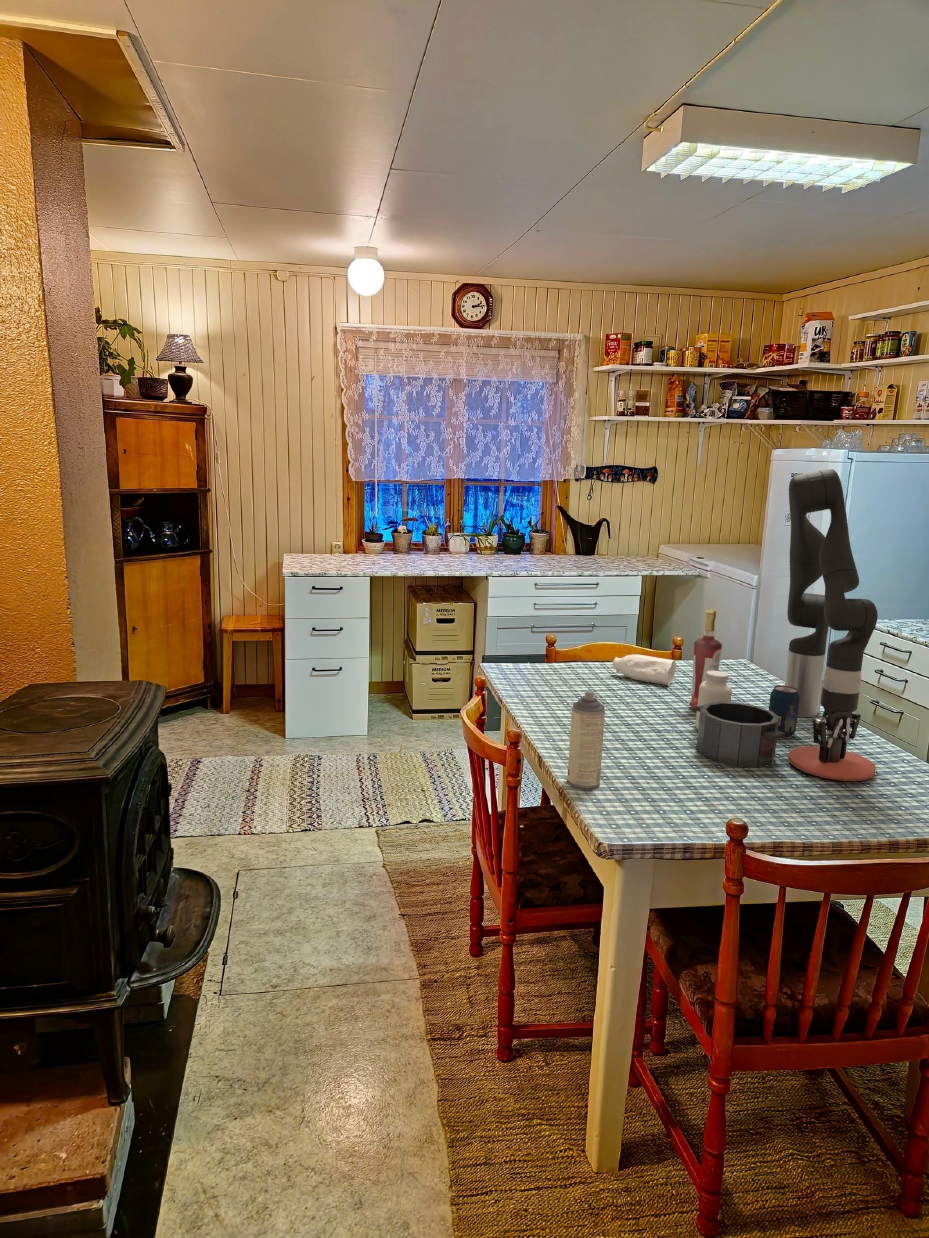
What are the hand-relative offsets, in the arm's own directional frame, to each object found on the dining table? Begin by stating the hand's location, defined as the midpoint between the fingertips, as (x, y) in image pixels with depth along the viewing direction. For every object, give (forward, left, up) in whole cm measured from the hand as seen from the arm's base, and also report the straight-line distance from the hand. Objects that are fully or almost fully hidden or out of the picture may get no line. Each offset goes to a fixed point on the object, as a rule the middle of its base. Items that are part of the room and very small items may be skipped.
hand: (831, 759), depth 183 cm
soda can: (-9, -21, -2) cm, 23 cm away
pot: (+13, -16, -2) cm, 21 cm away
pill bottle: (+5, -31, -2) cm, 31 cm away
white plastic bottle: (-10, -73, -2) cm, 74 cm away
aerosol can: (+57, -18, -2) cm, 59 cm away
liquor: (-5, -44, -2) cm, 44 cm away
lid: (0, 0, -2) cm, 2 cm away
